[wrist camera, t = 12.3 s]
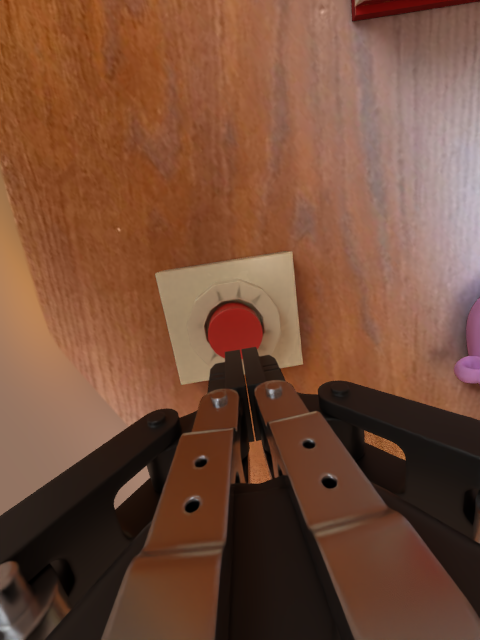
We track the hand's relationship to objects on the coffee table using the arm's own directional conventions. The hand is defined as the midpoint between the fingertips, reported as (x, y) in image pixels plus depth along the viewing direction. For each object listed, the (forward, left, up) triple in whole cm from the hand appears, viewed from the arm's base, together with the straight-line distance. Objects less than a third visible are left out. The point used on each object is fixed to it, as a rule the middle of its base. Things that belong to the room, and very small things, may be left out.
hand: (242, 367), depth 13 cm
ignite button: (0, 0, -7) cm, 7 cm away
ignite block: (0, 0, -10) cm, 10 cm away
